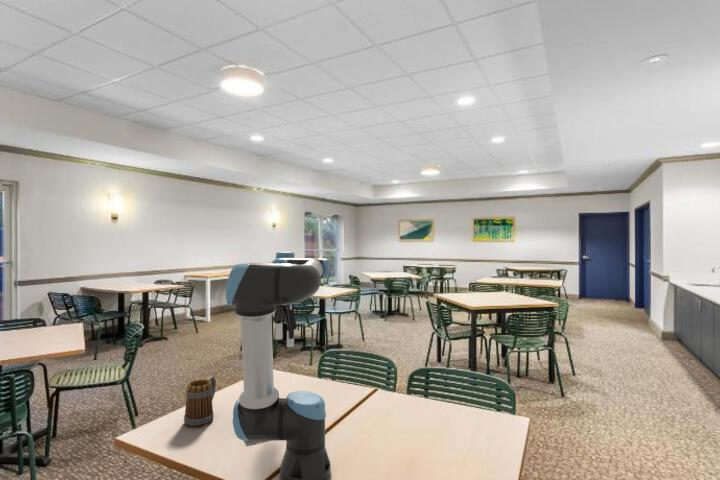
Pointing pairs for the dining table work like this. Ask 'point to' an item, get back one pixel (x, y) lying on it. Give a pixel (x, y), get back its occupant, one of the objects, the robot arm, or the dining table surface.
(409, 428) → the dining table surface
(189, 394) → the mug
